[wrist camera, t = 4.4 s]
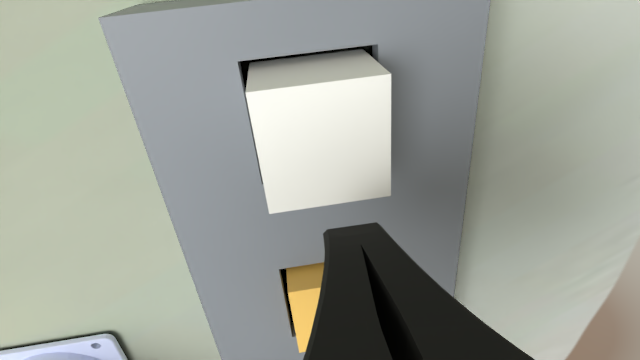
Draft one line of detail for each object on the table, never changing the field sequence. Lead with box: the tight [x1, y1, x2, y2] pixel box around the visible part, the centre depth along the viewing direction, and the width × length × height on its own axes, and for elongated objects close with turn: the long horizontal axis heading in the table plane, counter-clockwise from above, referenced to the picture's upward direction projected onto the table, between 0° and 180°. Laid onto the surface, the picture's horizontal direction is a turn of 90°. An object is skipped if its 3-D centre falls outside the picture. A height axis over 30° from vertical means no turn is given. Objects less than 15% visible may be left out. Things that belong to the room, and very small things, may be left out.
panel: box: [99, 0, 490, 360], centre depth 20 cm, size 12×26×4 cm, turn 5°
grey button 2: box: [245, 49, 391, 214], centre depth 13 cm, size 4×4×4 cm
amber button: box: [286, 262, 324, 353], centre depth 18 cm, size 4×4×4 cm
